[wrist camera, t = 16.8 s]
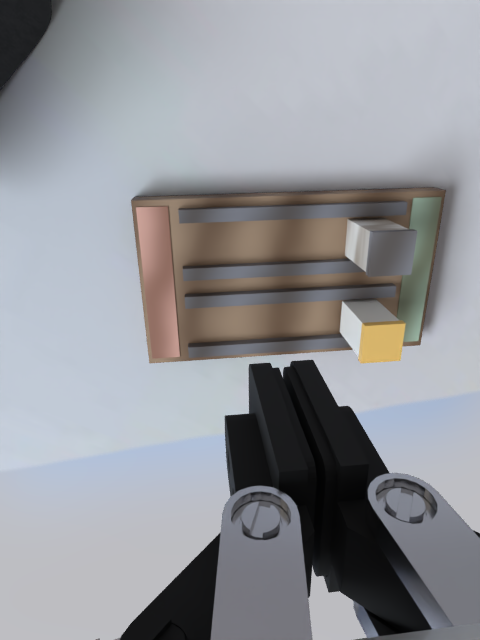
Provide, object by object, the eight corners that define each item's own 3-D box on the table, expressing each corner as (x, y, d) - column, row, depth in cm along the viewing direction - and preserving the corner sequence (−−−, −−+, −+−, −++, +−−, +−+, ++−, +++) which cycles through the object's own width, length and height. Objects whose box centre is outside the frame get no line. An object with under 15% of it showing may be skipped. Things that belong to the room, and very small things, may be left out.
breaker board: (433, 187, 37) (489, 200, 30) (410, 335, 43) (453, 375, 36) (134, 196, 35) (120, 213, 28) (151, 352, 41) (143, 398, 34)
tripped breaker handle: (376, 297, 38) (405, 323, 33) (372, 330, 40) (400, 360, 35) (341, 299, 38) (364, 325, 33) (338, 332, 39) (360, 363, 34)
